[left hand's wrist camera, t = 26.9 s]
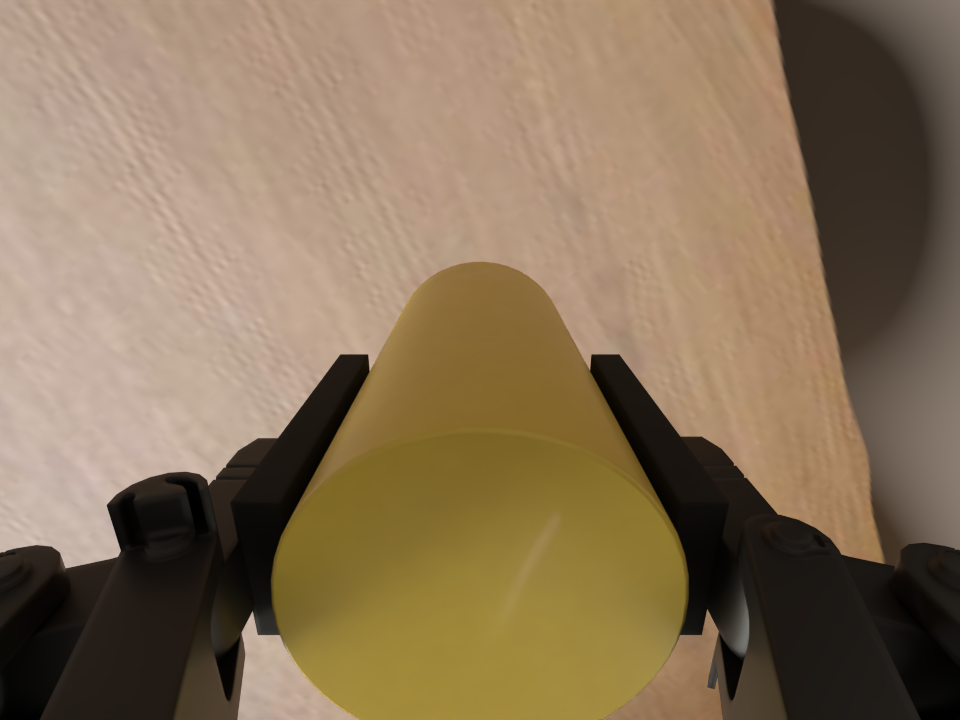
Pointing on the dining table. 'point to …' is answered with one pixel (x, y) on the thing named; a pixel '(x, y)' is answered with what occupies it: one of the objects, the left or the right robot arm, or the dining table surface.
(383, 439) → the canister
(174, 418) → the dining table surface
